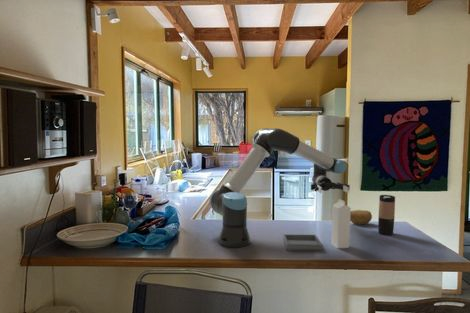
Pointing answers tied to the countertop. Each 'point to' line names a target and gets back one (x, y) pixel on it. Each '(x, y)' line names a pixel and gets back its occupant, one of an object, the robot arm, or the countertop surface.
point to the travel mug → (386, 214)
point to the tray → (302, 242)
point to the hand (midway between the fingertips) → (334, 190)
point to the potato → (360, 216)
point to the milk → (340, 225)
